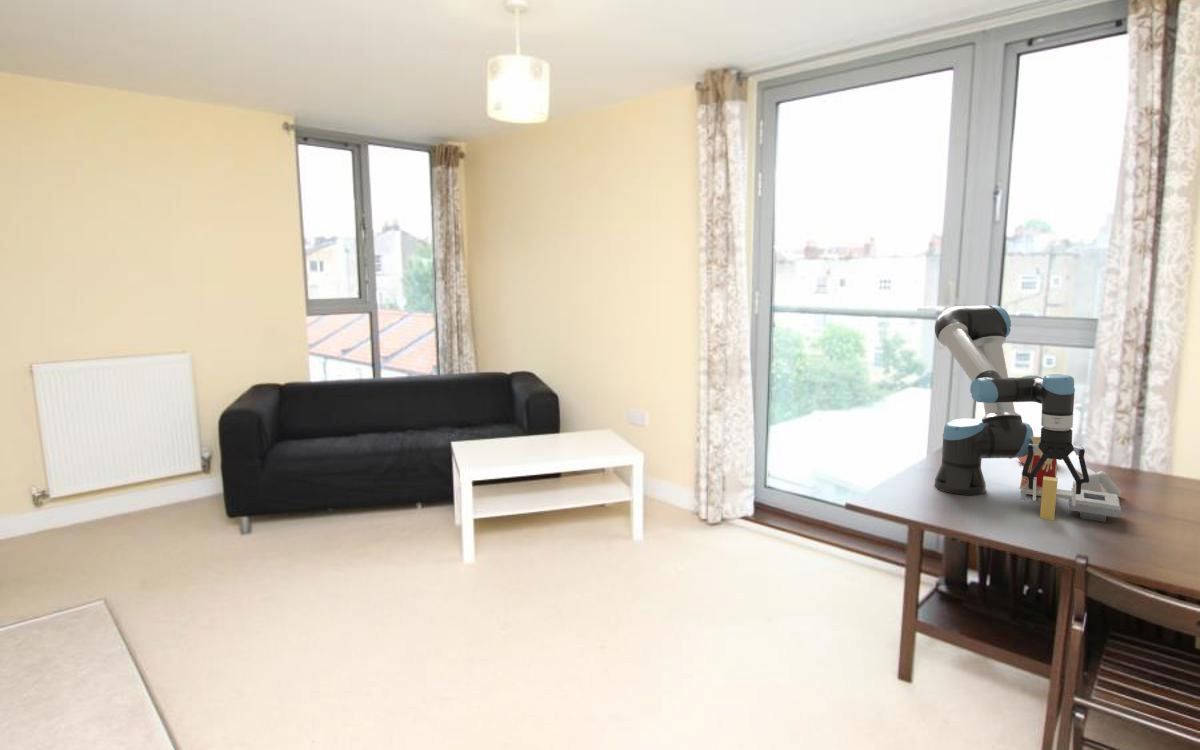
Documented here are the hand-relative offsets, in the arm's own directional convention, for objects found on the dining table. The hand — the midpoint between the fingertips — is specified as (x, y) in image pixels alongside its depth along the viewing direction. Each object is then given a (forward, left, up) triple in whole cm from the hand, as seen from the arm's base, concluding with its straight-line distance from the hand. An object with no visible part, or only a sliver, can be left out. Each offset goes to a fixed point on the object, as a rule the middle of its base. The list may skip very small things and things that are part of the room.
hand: (1053, 501), depth 193 cm
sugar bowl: (-6, +58, -5) cm, 59 cm away
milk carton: (-5, +22, -5) cm, 23 cm away
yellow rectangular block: (-1, 0, -5) cm, 5 cm away
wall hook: (+12, +28, -5) cm, 31 cm away
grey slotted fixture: (+4, +7, -5) cm, 9 cm away
